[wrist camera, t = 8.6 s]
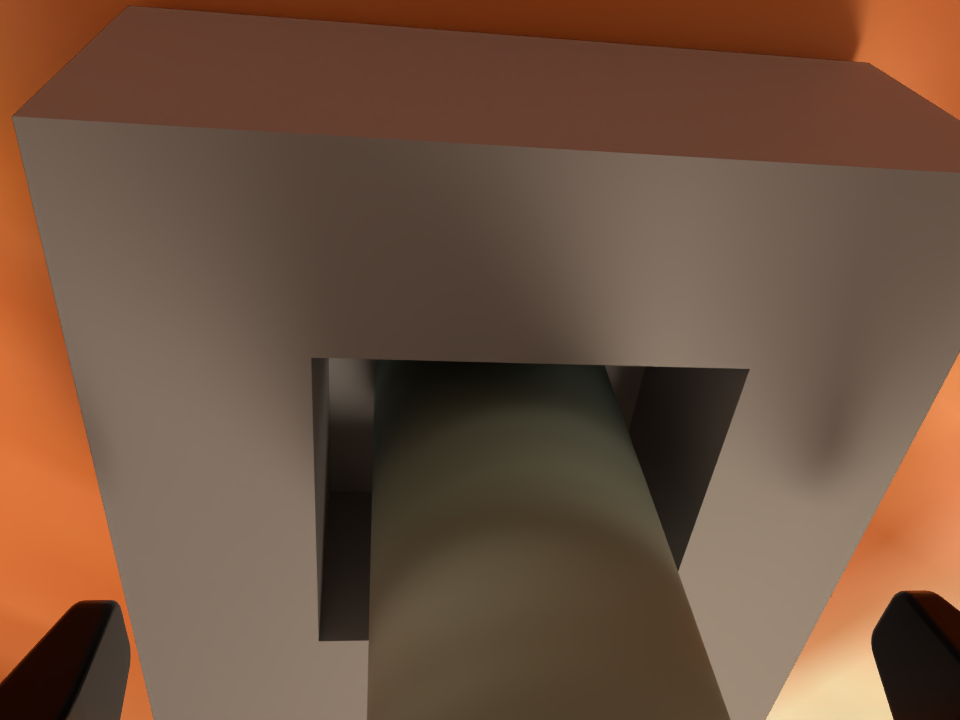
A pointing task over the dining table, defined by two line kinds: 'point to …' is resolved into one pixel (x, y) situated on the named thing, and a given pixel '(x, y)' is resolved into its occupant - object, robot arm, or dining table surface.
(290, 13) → the dining table surface
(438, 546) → the peg
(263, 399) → the socket block
